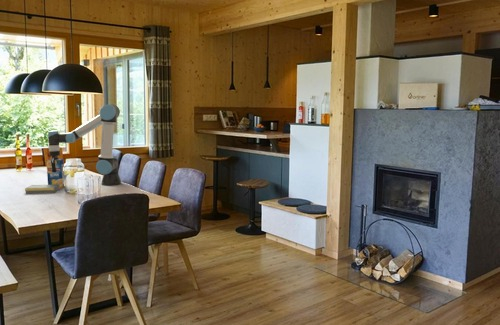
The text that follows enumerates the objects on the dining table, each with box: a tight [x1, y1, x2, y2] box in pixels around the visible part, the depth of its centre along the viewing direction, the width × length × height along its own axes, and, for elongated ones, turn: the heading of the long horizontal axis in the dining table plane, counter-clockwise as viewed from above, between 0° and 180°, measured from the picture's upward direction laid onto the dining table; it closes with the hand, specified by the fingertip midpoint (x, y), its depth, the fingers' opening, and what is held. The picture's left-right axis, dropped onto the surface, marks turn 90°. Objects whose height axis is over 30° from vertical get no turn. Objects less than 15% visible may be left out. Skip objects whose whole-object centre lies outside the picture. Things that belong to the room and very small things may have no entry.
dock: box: [24, 184, 61, 195], centre depth 333 cm, size 20×14×4 cm
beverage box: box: [45, 158, 65, 189], centre depth 348 cm, size 7×11×22 cm, turn 98°
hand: (56, 180), depth 349 cm, fingers open, 2 cm apart
